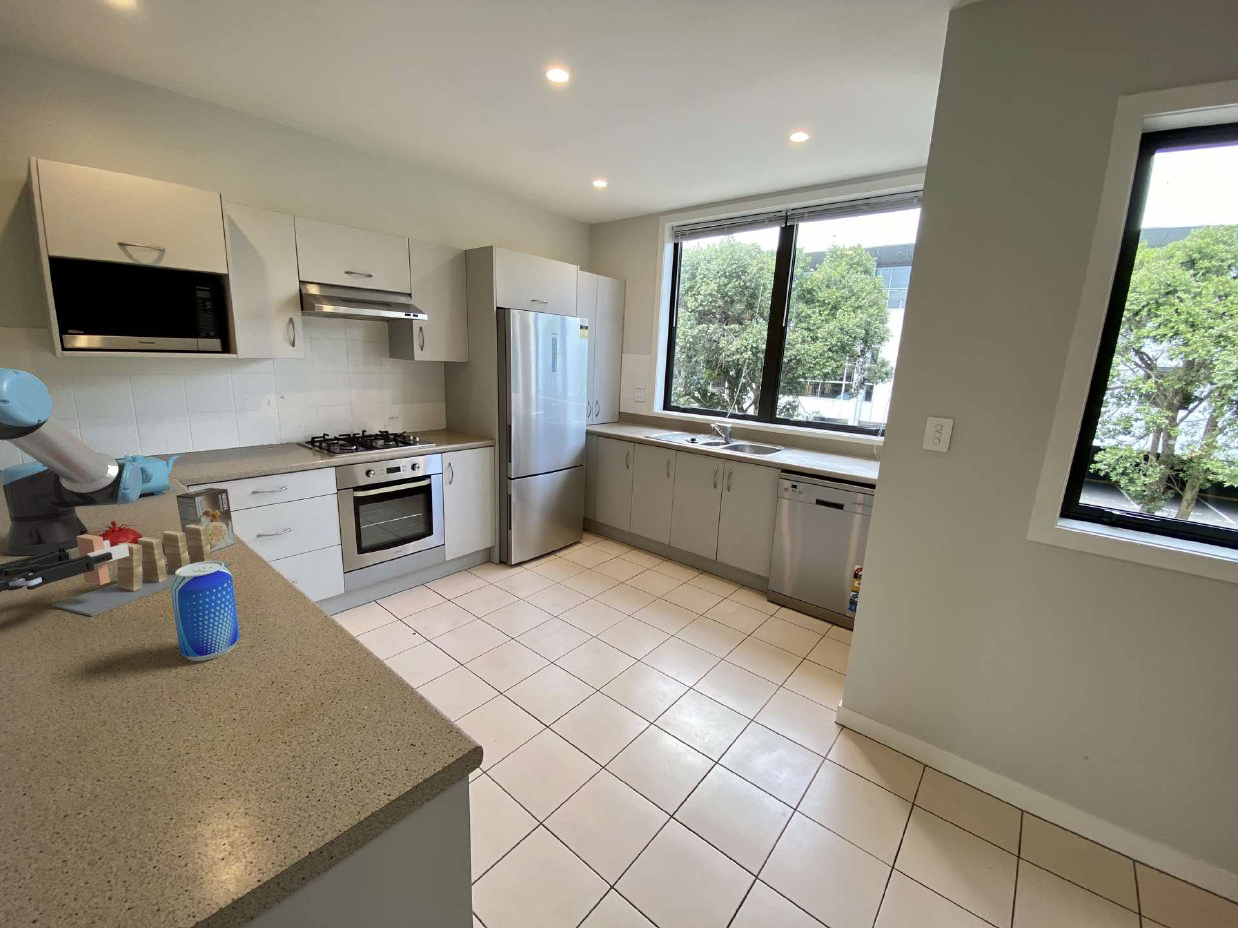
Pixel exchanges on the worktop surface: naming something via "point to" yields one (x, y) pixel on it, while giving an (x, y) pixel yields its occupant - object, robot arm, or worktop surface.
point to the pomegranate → (120, 535)
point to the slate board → (114, 596)
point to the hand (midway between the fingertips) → (117, 547)
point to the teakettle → (152, 472)
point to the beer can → (204, 610)
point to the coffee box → (208, 515)
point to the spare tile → (88, 546)
